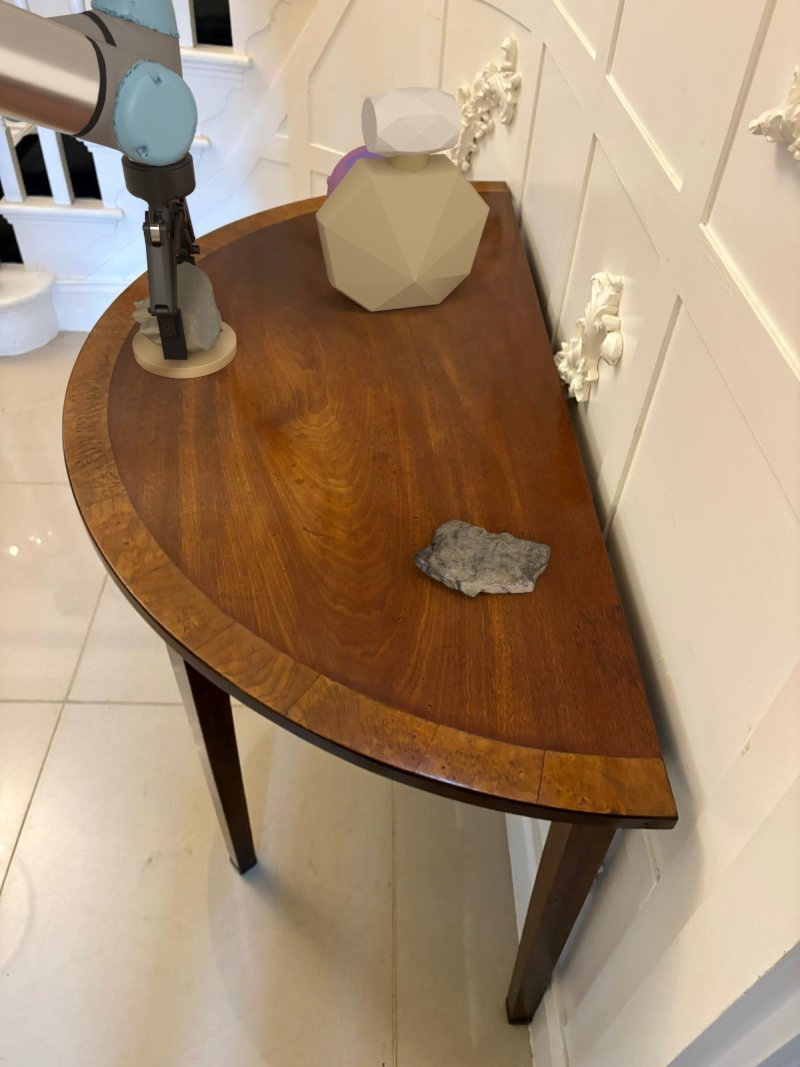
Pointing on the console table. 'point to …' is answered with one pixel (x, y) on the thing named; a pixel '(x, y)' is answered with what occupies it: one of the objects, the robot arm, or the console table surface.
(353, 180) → the perfume bottle
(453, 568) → the stone
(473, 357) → the console table surface
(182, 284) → the fossil
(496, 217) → the console table surface
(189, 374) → the maple disc
